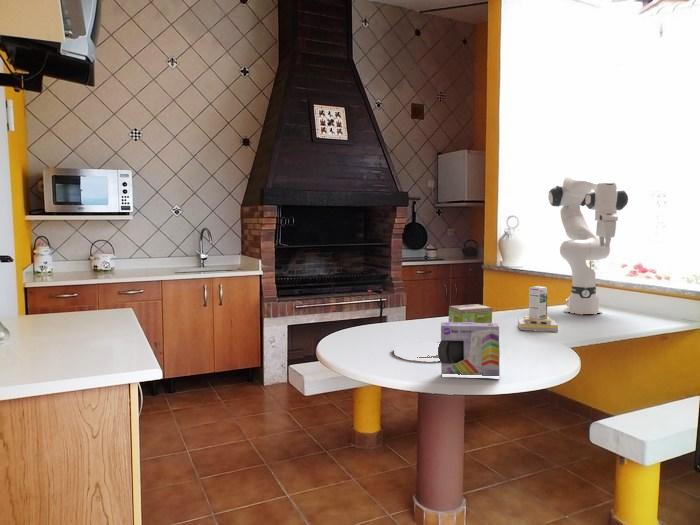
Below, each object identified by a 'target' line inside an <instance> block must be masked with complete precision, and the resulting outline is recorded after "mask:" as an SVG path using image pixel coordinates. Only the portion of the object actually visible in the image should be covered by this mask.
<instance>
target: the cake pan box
mask: <svg viewBox="0 0 700 525" xmlns="http://www.w3.org/2000/svg"><path fill="white" fill-rule="evenodd" d="M439 343H440V344H439V347H438V355H439V359H440V361H441V362H440V363H441V364H440V365H441V367H440V368H441V375H442V374H458V375H460V374H461V375H482V376H500V356H501V354H500V352H501V350H500V349H501V348H500V325H499V323H496V322H495V323H493V322H492V323H472V322H462V323H458V322H449V321H448V322H447V321H446V322H445V321H442V322H441V324H440V342H439ZM500 377H501V376H500Z"/></svg>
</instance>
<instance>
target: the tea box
mask: <svg viewBox="0 0 700 525" xmlns="http://www.w3.org/2000/svg"><path fill="white" fill-rule="evenodd" d="M448 322H458V323H462V322H472V323H493V307H490V306H486V305H483V304H479V303H477V304H475V303H474V304H463V305H461V304H460V305H450V306H448Z"/></svg>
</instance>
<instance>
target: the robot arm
mask: <svg viewBox="0 0 700 525" xmlns="http://www.w3.org/2000/svg"><path fill="white" fill-rule="evenodd" d="M547 197H548V202H549V204H550V205H551V206H552V207H561V209H560V218H561V222H562V225H563V228H564V230H565V233H566V235H567V237H568V238H569V239H570V240H565V241H563V242H562V243H561V245H560V248H559V253H560V255H561V257H562V258H563V260H565V261H566V262H567V263H568V264H569V266H570V269H571V273H572V275H571V276H572V282H571V283H572V285H571V286H570V287H571V288H570V290H571V291H570V295H569V296H568V298H565V303H566V306H564V309H563V312H564V313H568V312H570V313H569V314H574V313H575V315H583V314H594V315H598V314H597V313H600V314H603V311H602V310H600V299H599V297H598V295H596V293H597V286H596V276H597V273H596V271H595V270H594V269H593V268H591V267H589V266H588V264H587V261H600V260H604V259H606V258H608V256H609V255H610V253H611V248H610V247H611V241H612V238H614V237H615V236H616V230H617V229H616V228H617V221H618V219H619V218H618V217H619V216H618V215H617V211H622V210H623V209H624V208H625V207H626V206H627V205H628V202H629V196H628V194H627V192H626V191H625V190H624V189H622V188H617V183H616V182H615V181H609V180H608V181H606V180H605V181H598V182H597V181H594V180H592V179H589V178H588V177H585V176H583V175H582V174H579V173H570V174H568V175H566V176H565V178H564V179H563V182H562V185H556V186H554V187H552V188H551V189H550V190H549V192H548V195H547ZM584 206H586V208H588V209H589V210H593V211H594V212H595V214H594V221H596V230H595V231H596V232H595V233H594V232H593V231H592V230H591V229H590V228H589V226H588V224H587V222H586V220H585V217H584V215H583V213H582V211H581V207H584Z"/></svg>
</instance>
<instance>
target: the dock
mask: <svg viewBox="0 0 700 525" xmlns="http://www.w3.org/2000/svg"><path fill="white" fill-rule="evenodd" d="M551 320H552V322H550V324H546V323H545V322H540V324H536V322H531V324H527V323H526V321H525V319H524V318H518V319H517V326H518V325H519V326H518V328H520V329H521V330H536V331H535V332H545V331H554V332H553V333H558V331H559V325H558V323H557V322H556V321H555V319H551ZM520 329H519V330H520ZM521 330H520V331H521Z"/></svg>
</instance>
